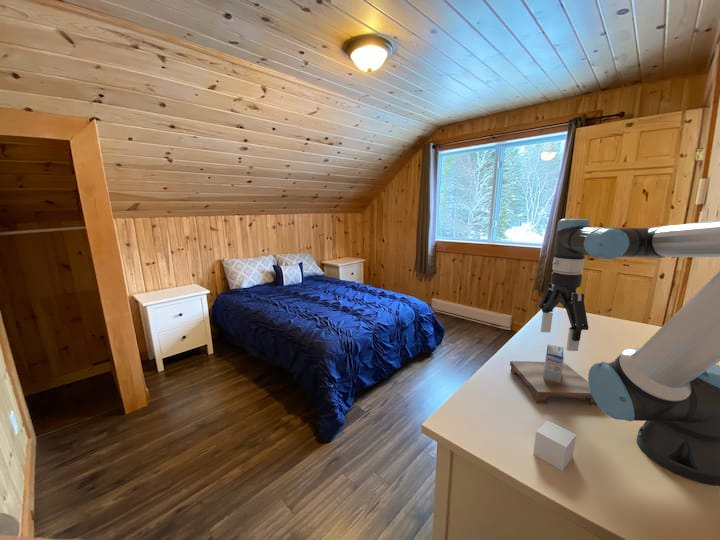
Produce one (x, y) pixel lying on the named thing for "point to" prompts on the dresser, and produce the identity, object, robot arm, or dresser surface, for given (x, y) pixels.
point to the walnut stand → (544, 388)
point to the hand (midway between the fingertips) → (557, 340)
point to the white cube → (554, 444)
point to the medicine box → (553, 363)
